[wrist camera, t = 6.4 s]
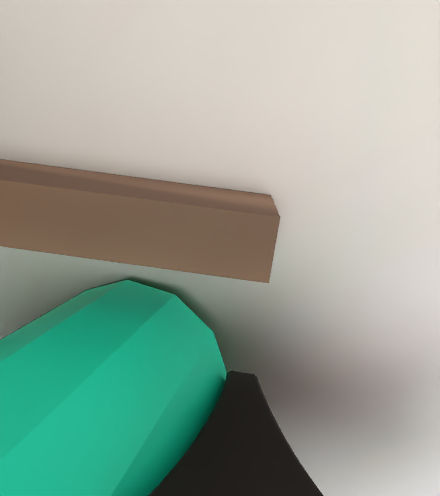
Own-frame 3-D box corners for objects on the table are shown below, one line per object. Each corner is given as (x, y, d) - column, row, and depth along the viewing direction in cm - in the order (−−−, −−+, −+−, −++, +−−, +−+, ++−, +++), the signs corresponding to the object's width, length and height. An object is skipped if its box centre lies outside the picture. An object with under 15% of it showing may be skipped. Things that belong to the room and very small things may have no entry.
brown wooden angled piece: (208, 581, 15) (199, 683, 13) (-42, 542, 16) (-106, 632, 13) (296, 39, 10) (317, -2, 7) (-105, -9, 10) (-247, -68, 7)
